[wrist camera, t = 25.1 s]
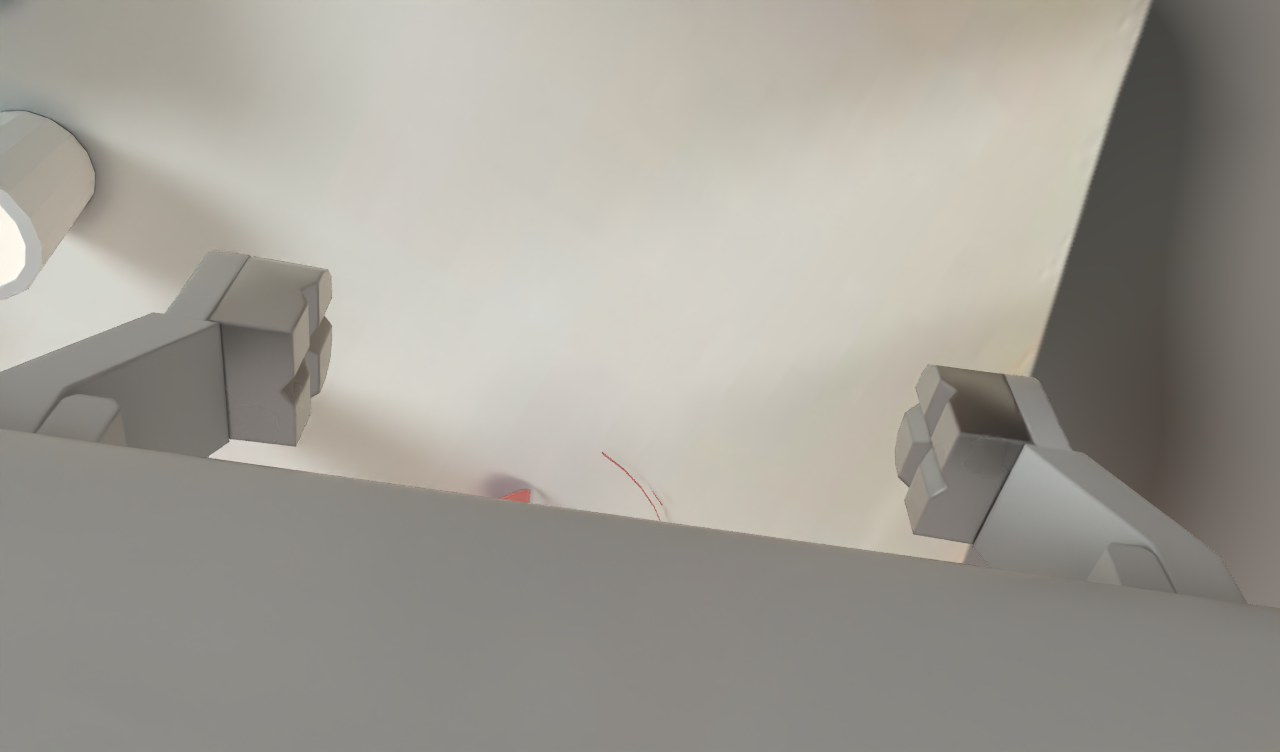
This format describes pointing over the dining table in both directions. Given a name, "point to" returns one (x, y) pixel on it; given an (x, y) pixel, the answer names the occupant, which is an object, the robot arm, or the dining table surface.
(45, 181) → the shot glass
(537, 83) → the dining table surface
